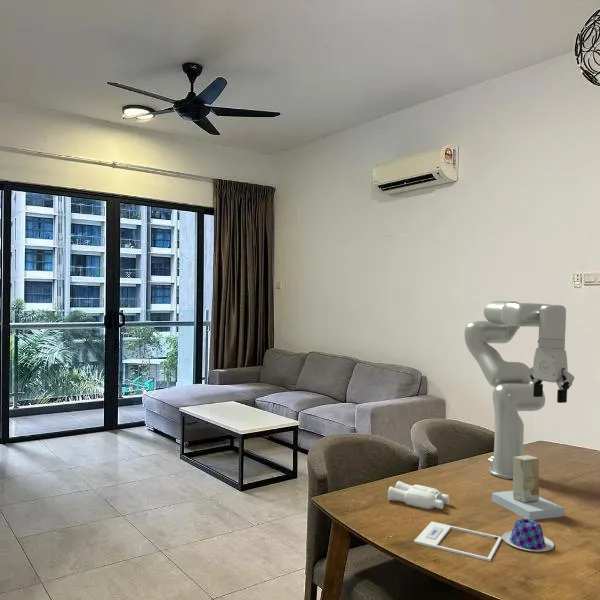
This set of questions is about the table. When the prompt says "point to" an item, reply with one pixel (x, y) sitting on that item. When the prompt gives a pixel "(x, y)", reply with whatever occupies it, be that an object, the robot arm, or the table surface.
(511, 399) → the robot arm
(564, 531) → the table surface
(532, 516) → the pale blue flat board
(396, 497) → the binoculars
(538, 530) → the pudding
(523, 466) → the skincare box
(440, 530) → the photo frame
